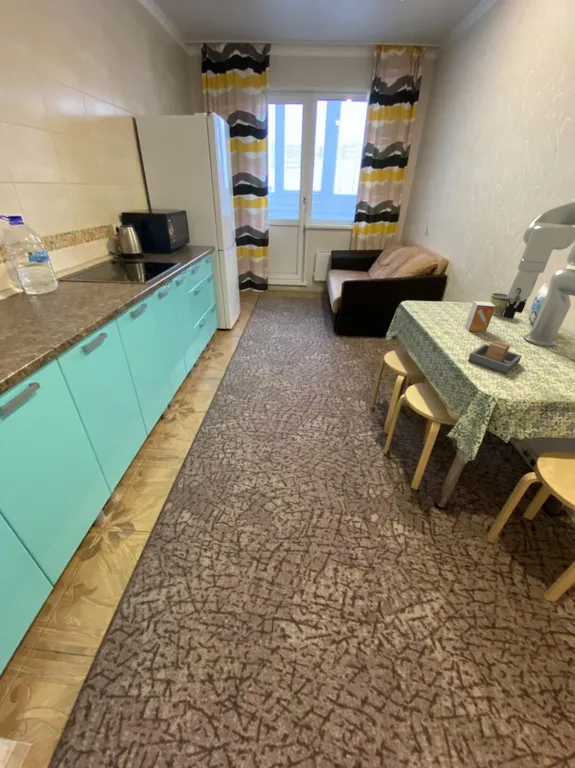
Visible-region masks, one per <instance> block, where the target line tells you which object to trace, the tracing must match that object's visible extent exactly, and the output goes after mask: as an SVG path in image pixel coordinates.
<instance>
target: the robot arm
mask: <svg viewBox="0 0 575 768" xmlns="http://www.w3.org/2000/svg"><path fill="white" fill-rule="evenodd" d="M574 226H575V198H574V199H573V200H572V201H571V202H568V203H565V204H561V205H559V206H556V207H553V208H551V209H549V210H546V211H544V212H542V213H541V214H539V216H538V217H536V218H535V219H534V220H533V221H532V222H531V223H530V224H529V225H528V227H527V228H526V230H525V231H524V234H523V239H522V240H523V243H524V244H525V248H524V251H523V253H522V256H521V257H520V258H521V259H520V261H519V264H518V267H517V270H518V272H517V274H516V276H515V278H514V280H513V283H512V285H511V286H510V289H509V291H508V294H507V295H508V296H507V299H510V298H511V299H510V301H509V303H508V305H507V307H506V309H505V311H504V313H503V315H502V317H503V318H507V319H510V320H513V319H514V317H515V315H516V313H518V314H522V313H523V311H524V309H525V306H526V304H527V301H528V299H529V297H530V296H531V294H532V292H533V290H534V287H535V285H536V283H537V280H538V277H539V275H540V274H543V273H544V271H545V269H546V268H547V265H548V262H549V260H550V257H551V255H552V253H553V250H557V251H561V250H565V249H567V248H569V247H570V246H571V245H572V244H573V245H572V247H571V249H570V251H569V252H568V255H567V259H566V262H567V263H568V264H569V265H571V266H573V267H575V227H574ZM548 287H549V289H548V292H547V295H546V298H545V300H544V302H543V305H542V307H541V309H540V311H539V313H538V316H537V318H536V320H535V322H534V325H532V327H531V329H530V331H529V333H526V334H524V336H523V339H524V340H525V341H526V342H528V343H530V344H533V345H536V346H540V347H548V348H549V347H550V348H552V347H556V346H557V344H558V342H557V339H556V336H557V334H558V332H559V330H560V329H561V326H562V324H563V323H564V321H565V318H566V316H567V314H568V312H569V311H570V309H571V305H572V303H571V298H570V296H573V297H575V269H573V268H561V269H558V270H557V271H555V272H554V273H553V274H552V276H551V278H550V280H549V284H548Z"/></svg>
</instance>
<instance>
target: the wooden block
mask: <svg viewBox="0 0 575 768" xmlns="http://www.w3.org/2000/svg"><path fill="white" fill-rule="evenodd" d="M489 345H490V346H489V348H488V351H487V353H486V356H485V357H486V358H489V359H492V360H495V361H498V362H501V363H502V362H503V361H504V359H505V357H506V355H507V352H508V351H509V349H510V347H511V344H510V343H506V342H503V341H499V340H496V339H495V340H493V341H492V342H491V343H490V344H489Z"/></svg>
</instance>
